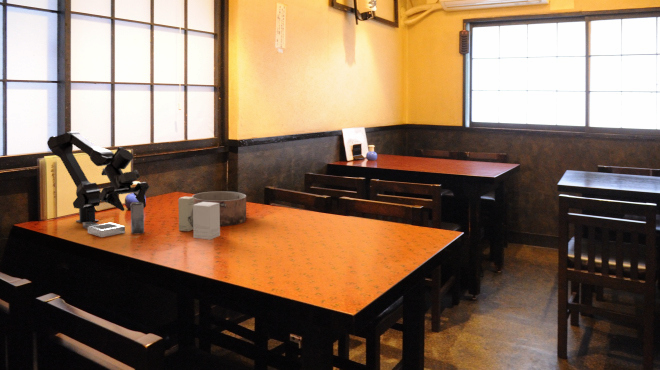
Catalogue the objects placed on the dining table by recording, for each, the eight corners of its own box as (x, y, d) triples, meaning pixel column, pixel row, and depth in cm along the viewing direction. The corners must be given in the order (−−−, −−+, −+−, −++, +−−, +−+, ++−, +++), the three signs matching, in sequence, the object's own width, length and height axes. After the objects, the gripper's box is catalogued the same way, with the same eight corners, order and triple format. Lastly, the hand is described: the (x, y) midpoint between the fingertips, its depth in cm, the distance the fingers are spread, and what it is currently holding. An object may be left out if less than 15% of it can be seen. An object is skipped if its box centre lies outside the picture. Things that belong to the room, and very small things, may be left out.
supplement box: (220, 235, 202) (220, 202, 200) (210, 240, 195) (209, 206, 193) (203, 233, 204) (203, 201, 202) (192, 238, 197) (192, 204, 196)
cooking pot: (207, 212, 243) (206, 189, 242) (254, 214, 240) (254, 191, 239) (180, 227, 214) (179, 200, 212) (234, 230, 211) (233, 203, 209)
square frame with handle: (73, 228, 206) (73, 222, 206) (96, 224, 214) (96, 218, 214) (101, 237, 195) (101, 230, 195) (125, 232, 203) (124, 226, 202)
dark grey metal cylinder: (128, 232, 203) (127, 202, 201) (139, 230, 206) (138, 201, 205) (136, 234, 200) (135, 204, 198) (146, 232, 204) (145, 202, 202)
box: (188, 231, 207) (188, 198, 205) (178, 230, 207) (177, 198, 205) (194, 228, 212) (194, 196, 210) (184, 227, 212) (184, 196, 210)
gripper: (101, 165, 196) (120, 198, 191) (145, 161, 211) (164, 192, 206) (91, 184, 202) (108, 217, 197) (134, 179, 217) (152, 209, 212)
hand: (134, 208), depth 203 cm, fingers open, 9 cm apart
